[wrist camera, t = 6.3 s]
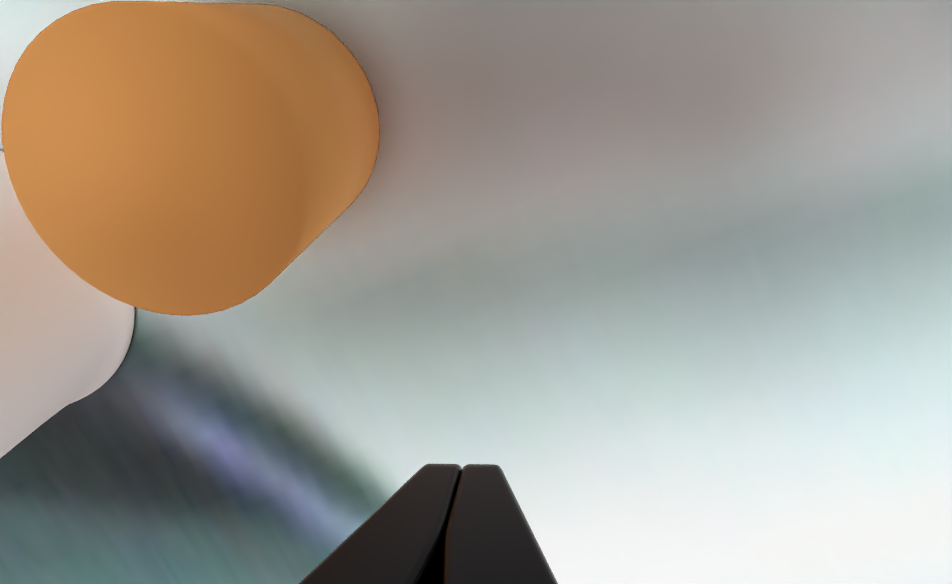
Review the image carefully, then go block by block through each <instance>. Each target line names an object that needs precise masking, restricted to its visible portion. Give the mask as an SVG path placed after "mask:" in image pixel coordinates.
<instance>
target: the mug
mask: <svg viewBox="0 0 952 584" xmlns="http://www.w3.org/2000/svg"><path fill="white" fill-rule="evenodd" d="M133 328H134V307H133V306H131V305H129V304H126V303H124V302H121V301H119V300H116V299H114V298H112V297H110V296H109V295H107V294H105V293H103V292H101V291H99V290H98V289H96V288H95V287H93V286H92V285H90V284H89V283H87V282H86V281H84V280H83V279H81V278H80V277H79V276H78V275H77V274H75V273H74V272H73V271H72V270H71V269H69V268H68V267H67V266H66V265H65V264H64V263H63V262H62V261H61V260H60V259H59V258H58V257H57V256H56V255H55V254H54V253H53V252H52V251H51V250H50V248H49V247H48V246H47V245H46V243H45V242H44V241H43V240H42V239H41V237H40V236H39V235H38V233H37V232H36V230H35V229H34V227H33V226H32V224H31V223H30V221H29V219H28V218H27V216H26V214H25V212H24V210H23V208H22V206H21V204H20V202H19V201H18V199H17V196H16V193H15V191H14V188H13V185H12V183H11V180H10V177H9V173H8V169H7V165H6V162H5V157H4V152H3V151H0V458H1V457H2V456H4V455H5V454H6V453H7V452H9V451H10V450H11V449H12V448H13V447H15V446H16V445H17V444H18V443H20V442H21V441H22V440H23V439H24V438H26V437H27V436H28V435H29V434H31V433H32V432H33V431H34V430H36V429H37V428H38V427H39V426H41V425H42V424H43V423H44V422H46V421H47V420H48V419H49V418H51V417H52V416H53V415H54V414H56V413H57V412H58V411H60V410H61V409H62V408H64V407H65V406H67V405H68V404H70V403H73V402H75V401H78V400H80V399H82V398H84V397H86V396H88V395H89V394H91V393H93V392H94V391H96V390H97V389H98V388H100V387H101V386H102V385H103V384H104V383H106V382H107V381H108V380H109V379H110V378H111V376H112V375H113V374H114V373H115V372H116V370H117V369H118V368H119V366H120V365H121V363H122V361H123V359H124V357H125V355H126V353H127V351H128V348H129V345H130V342H131V338H132V334H133Z"/></svg>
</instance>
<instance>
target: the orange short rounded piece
mask: <svg viewBox="0 0 952 584" xmlns="http://www.w3.org/2000/svg"><path fill="white" fill-rule="evenodd" d="M379 134H380V132H379V117H378V111H377V106H376V101H375V98H374V95H373V92H372V89H371V86H370V84H369V82H368V79H367V77H366V75H365V73H364V71H363V70H362V68H361V66H360V65H359V63H358V61H357V60H356V58H355V57H354V56H353V55H352V53H351V52H350V51H349V49H348V48H347V47H346V46H345V45H344V44H343V43H342V42H341V41H340V40H339V39H338V38H337V37H336V36H335V35H334V34H333V33H332V32H330V31H329V30H328V29H326V28H325V27H324V26H323V25H321V24H319V23H318V22H316V21H314V20H313V19H311V18H309V17H307V16H305V15H303V14H300V13H298V12H296V11H293V10H290V9H286V8H283V7H279V6H272V5H265V4H229V3H189V2H150V1H111V2H105V3H99V4H93V5H90V6H87V7H84V8H81V9H78V10H75V11H72V12H70V13H68V14H67V15H65V16H63V17H61V18H59V19H57V20H55V21H54V22H53V23H52V24H50V25H49V26H48V27H46V28H45V29H44V30H43V31H41V32H40V33H39V34H38V35H37V37H36V38H35V39H34V40H33V41H32V42H31V43H30V44H29V45H28V46H27V48H26V49H25V51H24V53H23V54H22V56H21V57H20V59H19V60H18V62H17V64H16V66H15V68H14V71H13V73H12V75H11V77H10V80H9V83H8V87H7V91H6V94H5V98H4V105H3V113H2V142H3V149H4V157H5V162H6V165H7V169H8V173H9V177H10V180H11V183H12V185H13V188H14V191H15V193H16V196H17V199H18V201H19V202H20V204H21V206H22V208H23V210H24V212H25V214H26V216H27V218H28V219H29V221H30V223H31V224H32V226H33V227H34V229H35V230H36V232H37V233H38V235H39V236H40V237H41V239H42V240H43V241H44V242H45V243H46V245H47V246H48V247H49V248H50V250H51V251H52V252H53V253H54V254H55V255H56V256H57V257H58V258H59V259H60V260H61V261H62V262H63V263H64V264H65V265H66V266H67V267H68V268H69V269H71V270H72V271H73V272H74V273H75V274H77V275H78V276H79V277H80V278H81V279H83V280H84V281H86V282H87V283H89V284H90V285H92V286H93V287H95V288H96V289H98V290H99V291H101V292H103V293H105V294H107V295H109V296H110V297H112V298H114V299H116V300H119V301H121V302H124V303H126V304H129V305H131V306H133V307H137V308H140V309H144V310H147V311H151V312H156V313H162V314H169V315H200V314H209V313H213V312H217V311H222V310H225V309H228V308H230V307H233V306H236V305H238V304H241V303H242V302H244V301H246V300H248V299H249V298H251V297H253V296H255V295H256V294H257V293H259V292H260V291H261V290H263V289H264V288H265V287H266V286H268V285H269V284H270V283H271V282H272V281H273V280H274V279H275V278H276V277H277V276H278V275H279V274H280V273H281V272H282V271H283V270H284V269H285V268H286V267H287V266H288V265H289V264H290V263H291V262H292V261H293V260H294V259H295V258H297V257H298V256H299V255H300V254H301V253H302V252H303V251H304V250H305V249H306V248H307V247H308V246H309V245H310V244H311V243H312V242H313V241H314V240H315V239H316V238H317V237H318V236H319V235H320V234H321V233H322V232H323V231H324V230H325V229H326V228H327V227H328V226H329V225H330V224H331V223H332V222H333V221H334V220H335V219H336V218H337V217H338V216H340V215H341V214H342V213H343V212H344V211H345V210H346V209H347V208H348V207H349V206H350V205H351V204H352V202H353V201H354V200H355V199H356V198H357V197H358V196H359V194H360V193H361V191H362V190H363V189H364V187H365V185H366V183H367V182H368V180H369V178H370V176H371V173H372V171H373V168H374V165H375V162H376V157H377V153H378V148H379Z"/></svg>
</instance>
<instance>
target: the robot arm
mask: <svg viewBox="0 0 952 584" xmlns="http://www.w3.org/2000/svg"><path fill="white" fill-rule="evenodd" d="M299 584H558V583H557V581H556V579H555V577H554V575H553V573H552V571H551V569H550V567H549V565H548V563H547V561H546V559H545V557H544V555H543V552H542V550H541V548H540V546H539V544H538V542H537V540H536V538H535V536H534V534H533V532H532V530H531V528H530V526H529V524H528V522H527V520H526V518H525V516H524V514H523V512H522V510H521V508H520V506H519V504H518V502H517V500H516V498H515V496H514V494H513V491H512V489H511V487H510V485H509V483H508V481H507V479H506V477H505V475H504V473H503V471H502V469H501V468H500V467H499V466H498V465H490V464H468V465H466V466H464V467H463V469H462V468H461V466H459V465H458V464H427V465H425V466H423V467H422V468H421V469H420V470H419V471H418V472H417V473H416V474H414V475H413V476H412V477H411V478H410V479H409V480H408V481H407V482H406V483H405V484H404V485H403V486H402V487H401V488H400V489H399V490H398V491H396V492H395V493H394V494H393V495H392V496H391V497H390V498H389V499H388V500H387V501H386V502H385V503H384V504H383V505H382V506H381V507H380V508H379V509H377V510H376V511H375V512H374V513H373V514H372V515H371V516H370V517H369V518H368V519H367V520H366V521H365V522H364V523H363V524H362V525H361V526H359V527H358V528H357V529H356V530H355V531H354V532H353V533H352V534H351V535H350V536H349V537H348V538H347V539H346V540H345V541H344V542H343V543H341V544H340V545H339V546H338V547H337V548H336V549H335V550H334V551H333V552H332V553H331V554H330V555H329V556H328V557H327V558H326V559H325V560H323V561H322V562H321V563H320V564H319V565H318V566H317V567H316V568H315V569H314V570H313V571H312V572H311V573H310V574H309V575H308V576H307V577H305V578H304V579H303V580H302V581H301V582H300V583H299Z"/></svg>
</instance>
